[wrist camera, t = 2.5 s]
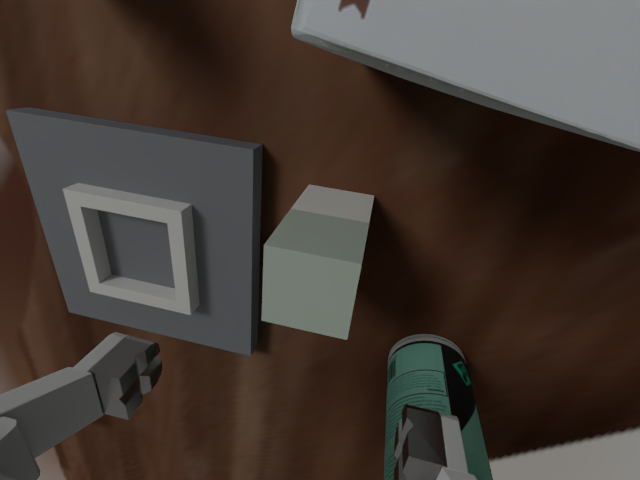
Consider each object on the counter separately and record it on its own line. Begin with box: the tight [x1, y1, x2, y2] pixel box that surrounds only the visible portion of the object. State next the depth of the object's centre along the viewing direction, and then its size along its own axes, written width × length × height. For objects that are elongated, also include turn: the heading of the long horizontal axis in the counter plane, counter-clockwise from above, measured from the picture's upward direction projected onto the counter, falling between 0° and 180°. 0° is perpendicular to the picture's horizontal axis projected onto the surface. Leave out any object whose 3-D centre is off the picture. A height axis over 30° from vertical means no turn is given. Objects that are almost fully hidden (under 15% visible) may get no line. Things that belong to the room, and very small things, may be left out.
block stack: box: [261, 185, 374, 340], centre depth 18 cm, size 4×4×8 cm
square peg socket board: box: [6, 107, 263, 356], centre depth 24 cm, size 16×16×3 cm
